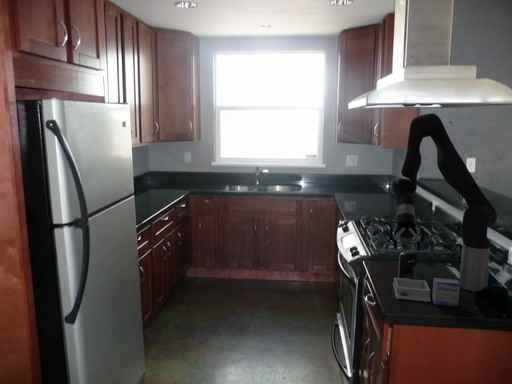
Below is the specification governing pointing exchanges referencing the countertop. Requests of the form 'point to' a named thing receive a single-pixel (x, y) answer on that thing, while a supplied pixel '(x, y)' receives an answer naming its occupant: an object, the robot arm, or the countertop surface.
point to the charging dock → (411, 289)
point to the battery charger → (406, 265)
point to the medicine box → (445, 292)
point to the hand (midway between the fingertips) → (406, 249)
